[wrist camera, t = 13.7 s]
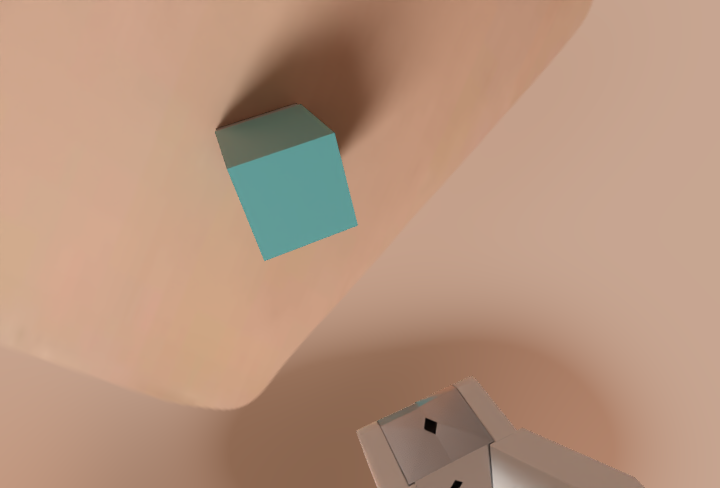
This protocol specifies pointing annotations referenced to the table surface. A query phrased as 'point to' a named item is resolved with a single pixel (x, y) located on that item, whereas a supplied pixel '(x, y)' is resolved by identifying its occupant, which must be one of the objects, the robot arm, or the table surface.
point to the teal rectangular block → (288, 179)
